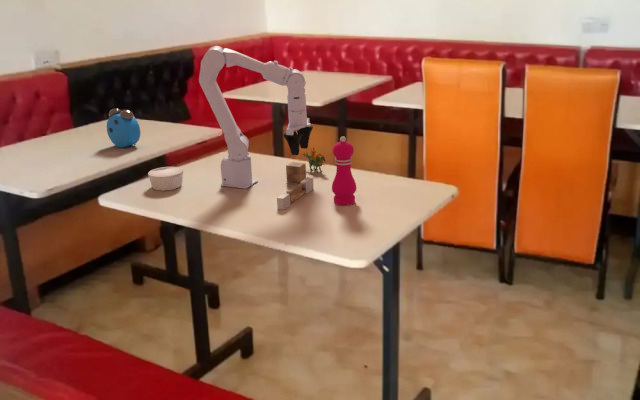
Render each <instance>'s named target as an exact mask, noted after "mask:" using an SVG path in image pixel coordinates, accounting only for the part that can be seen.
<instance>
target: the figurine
mask: <svg viewBox="0 0 640 400" xmlns="http://www.w3.org/2000/svg"><path fill="white" fill-rule="evenodd" d="M309 153H310V154H309ZM309 153H308V152H303V153H301V155H302V156H304V157H306V158H307V159H308V164H309V171H310V172H313V171H316V173H319V172H323V170H322V168H321V167H322V166H325V164H324V163H325V162H327V161H326V157H325V155H324V154H322V153H321V152H319V153H317V151H316V150H315V147H313V146H311V148H310V152H309ZM312 167H313V169H312ZM318 169H319V170H318Z"/></svg>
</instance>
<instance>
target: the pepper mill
mask: <svg viewBox="0 0 640 400" xmlns="http://www.w3.org/2000/svg"><path fill="white" fill-rule="evenodd" d="M354 150H355V149H354V147H353V145H352V143H351V142H349V141H347V138H346V137H345V136H341V137H340V138H339V141H338V142H336V143H334V144H333V148H332V154H333V156H334V157H335V158H334V164H336V166H335V167H336V173H335V175H334V179H333V180H332V181H333V182H332V183H331V184H332V185H331V192H332V194H334V196H333V203H334V204H335V205H337V206H351V205H353V204H354V203H356V196H355V193H356V191H357V184H356V180H355V178H354V176H353V173H352V168H351V166H352V163H353V158H352V156H353V155H354Z"/></svg>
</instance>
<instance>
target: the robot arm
mask: <svg viewBox="0 0 640 400" xmlns="http://www.w3.org/2000/svg"><path fill="white" fill-rule="evenodd" d="M225 64H226V66H225ZM224 66H225V67H226V68H230V67H234V66H238V67H241V68H243V69H248V70H250V71H253V72H256V73H260V75H261V76H262V78H263V79H264V80H266V81H269V82H271V83H274V84H277V85H279V86H282V87H283V86H286V87H287V95H286V97H287V98H286V99H287V113H288V125H287V128H286V132H284V133H283V138H284V139H285V140H286V142H287V144H288V147H289V150H290V153H291V155H292V156H299V154H300V149H308V148H309V142H310V137H311V134H312V131H313V129H314V126H313V125H312V123H310V122H311V121H310V117H308V115H307V95H306V89H305V87H306V79H305V75H304V74H303V72H301V70H298V69H297V68H294V69H293V67H291V66H289V67H286V66H285V65H282V64H279V61H277V60H273V61H271V60H270V61H267V62H262V61H260V60H258V59H256V58H253V57H250V56H249V55H246V54H243V53H241V52H238V51H236V50H233V49H230V48H226V47H224V48H223V47H222V46H220V45H214V46H211V47H209V48H208V49H207V51H206V52H205V54H204V55H203V57H202V59H201V61H200V70H199V77H198V83H199V84H200V85H199V86H200V87H201V89H202V91H203V93H204V95H205V97H206V100H207V101H208V103H209V105H210V108H211V111H212V113H213V114H214V116H215V119H216V121H217V123H218V125H219V127H220V129H221V132H222V133H223V135H224V141H225V143H226V145H227V146H226V147H227V153H228V155H227V156H224V157H222V159H221V162H220V174H221V176H220V177H221V183H220V186H222V187H229V188H236V189H237V188H238V189H247V188H249V187H251V186H253V185H254V184H256V183H258V179H253V172H252V157H251V156H252V155H251V154H250V153H249V152H248V151H249V146H250V141H249V138H248V137H247V136H246V135H244V134H243V133H242V131H241V129H240V127H239V126H238V125H237V122H236V121H235V118H234V116H233V114H232V112H231V110H230V108H229V105H228V104H227V101H226V99H225V97H224V95H223V92H222V91H221V88H220V86H219V84H218V82H217V77H218V75H219V73H220V71H221V70H222V69H223V67H224Z"/></svg>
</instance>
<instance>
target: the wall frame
mask: <svg viewBox="0 0 640 400" xmlns="http://www.w3.org/2000/svg"><path fill="white" fill-rule="evenodd" d="M300 183H304V187H306V190H304V194H308V193H310V192H311V191H312V190H314V177H310V176H309V177H307V176H306V178H305V179H304V180H302V181H301V182H300ZM289 191H290V190H287V191H286V193H282V194H280V195H279V196H278V197H276V202H277V203H276V204H277V207H276V208H277V210H280V211H281V210H284V211H285V210H287V208H288V207H290V206H291V203H290V192H289Z"/></svg>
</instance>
